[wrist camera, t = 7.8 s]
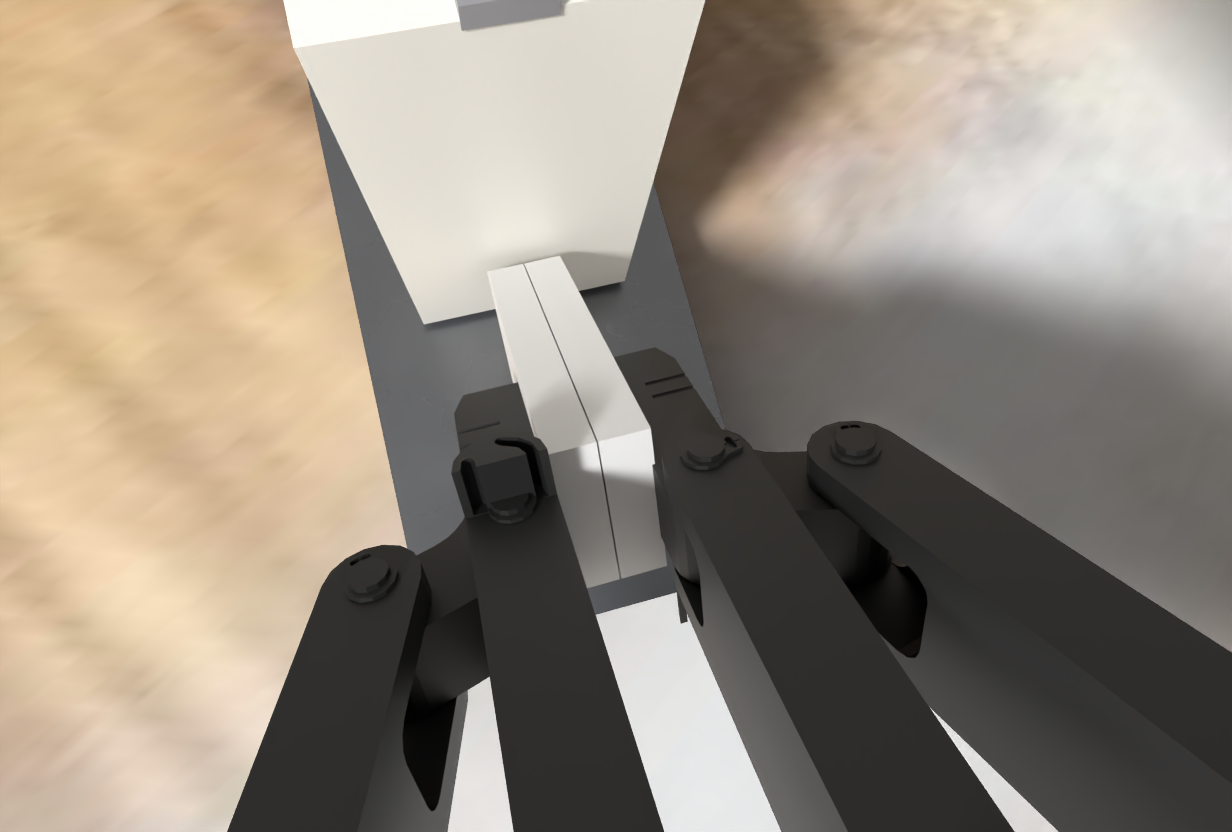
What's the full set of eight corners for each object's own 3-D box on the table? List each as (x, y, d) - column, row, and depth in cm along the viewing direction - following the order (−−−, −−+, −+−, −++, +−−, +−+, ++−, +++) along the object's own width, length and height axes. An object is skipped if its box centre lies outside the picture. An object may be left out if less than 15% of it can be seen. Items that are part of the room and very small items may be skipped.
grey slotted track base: (743, 568, 20) (767, 567, 18) (442, 651, 19) (430, 660, 17) (544, -129, 24) (545, -195, 22) (282, -93, 23) (256, -159, 21)
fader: (625, 282, 19) (717, -35, 9) (424, 326, 19) (285, 34, 8) (584, 135, 20) (628, -310, 10) (389, 172, 19) (222, -268, 9)
